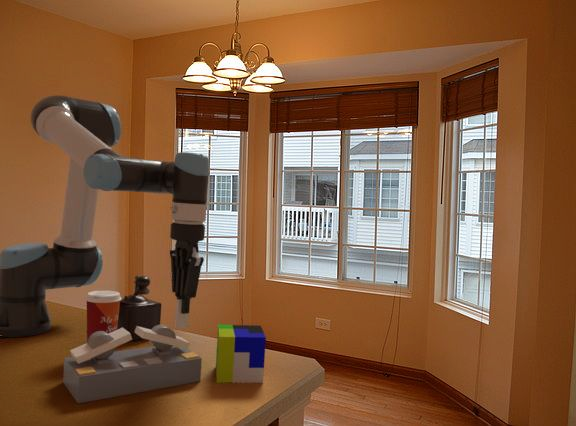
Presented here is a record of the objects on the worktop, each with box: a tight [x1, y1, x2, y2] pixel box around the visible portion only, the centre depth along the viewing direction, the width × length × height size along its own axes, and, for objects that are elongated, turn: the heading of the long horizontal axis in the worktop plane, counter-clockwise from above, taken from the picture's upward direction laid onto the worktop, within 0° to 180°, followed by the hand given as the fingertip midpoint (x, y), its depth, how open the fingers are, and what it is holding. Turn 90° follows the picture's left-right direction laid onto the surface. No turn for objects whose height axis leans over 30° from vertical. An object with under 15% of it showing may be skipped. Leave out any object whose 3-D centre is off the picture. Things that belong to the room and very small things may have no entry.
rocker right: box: [134, 324, 190, 351], centre depth 110 cm, size 5×11×5 cm, turn 126°
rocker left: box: [69, 327, 132, 364], centre depth 103 cm, size 5×11×5 cm, turn 126°
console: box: [62, 345, 202, 404], centre depth 106 cm, size 12×25×6 cm, turn 126°
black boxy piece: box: [117, 275, 162, 342], centre depth 137 cm, size 16×11×18 cm
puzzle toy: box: [215, 324, 267, 384], centre depth 114 cm, size 10×10×10 cm
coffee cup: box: [85, 290, 123, 342], centre depth 121 cm, size 8×8×15 cm
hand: (181, 326), depth 113 cm, fingers closed
